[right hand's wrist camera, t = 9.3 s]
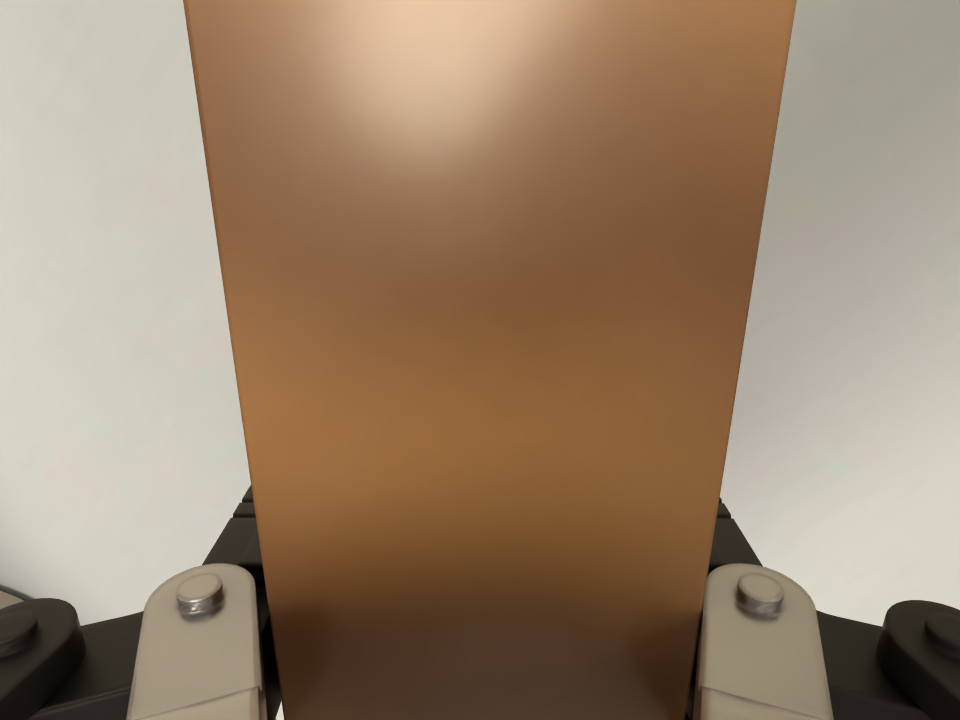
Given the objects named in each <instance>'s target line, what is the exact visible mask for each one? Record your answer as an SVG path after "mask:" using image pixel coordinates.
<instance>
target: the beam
mask: <svg viewBox="0 0 960 720" xmlns="http://www.w3.org/2000/svg"><path fill="white" fill-rule="evenodd" d="M183 2H184V9H185V16H186V23H187V30H188V37H189V45H190V52H191V59H192V66H193V73H194V80H195V87H196V94H197V102H198V109H199V116H200V123H201V130H202V137H203V144H204V151H205V158H206V166H207V173H208V180H209V187H210V194H211V201H212V208H213V215H214V223H215V230H216V237H217V244H218V251H219V258H220V265H221V272H222V279H223V287H224V294H225V301H226V308H227V315H228V322H229V329H230V336H231V344H232V351H233V358H234V365H235V372H236V379H237V386H238V393H239V400H240V408H241V415H242V422H243V429H244V436H245V443H246V450H247V457H248V465H249V472H250V479H251V486H252V493H253V500H254V507H255V514H256V521H257V529H258V536H259V543H260V550H261V557H262V564H263V571H264V578H265V586H266V593H267V600H268V607H269V614H270V621H271V628H272V635H273V642H274V650H275V657H276V664H277V671H278V678H279V685H280V692H281V699H282V707H283V714H284V720H685V717H686V710H687V704H688V697H689V691H690V684H691V678H692V671H693V665H694V659H695V652H696V646H697V639H698V633H699V626H700V620H701V613H702V607H703V600H704V594H705V587H706V581H707V575H708V568H709V562H710V555H711V549H712V542H713V536H714V529H715V523H716V516H717V510H718V503H719V497H720V491H721V484H722V478H723V471H724V465H725V458H726V452H727V445H728V439H729V432H730V426H731V419H732V413H733V407H734V400H735V394H736V387H737V381H738V374H739V368H740V361H741V355H742V348H743V342H744V335H745V329H746V323H747V316H748V310H749V303H750V297H751V290H752V284H753V277H754V271H755V264H756V258H757V251H758V245H759V239H760V232H761V226H762V219H763V213H764V206H765V200H766V193H767V187H768V180H769V174H770V167H771V161H772V155H773V148H774V142H775V135H776V129H777V122H778V116H779V109H780V103H781V96H782V90H783V83H784V77H785V71H786V64H787V58H788V51H789V45H790V38H791V32H792V25H793V19H794V12H795V6H796V0H183Z"/></svg>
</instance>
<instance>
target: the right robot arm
mask: <svg viewBox="0 0 960 720" xmlns="http://www.w3.org/2000/svg"><path fill="white" fill-rule="evenodd" d="M281 700H282V699H281V692H280V685H279V678H278V671H277V664H276V657H275V650H274V642H273V635H272V628H271V621H270V614H269V607H268V600H267V593H266V586H265V578H264V571H263V564H262V557H261V550H260V543H259V536H258V529H257V521H256V514H255V507H254V500H253V493H252V486H250V487H249V489H248V491H247V492H246V494H245V495H244V497H243V499H242V503H240V504H239V505H238V507H237V509H236V510H235V512H234V513H233V518H230V520H229V522H228V523H227V525H226V527H225V528H224V530H223V532H222V533H221V535H220V536H219V538H218V540H217V541H216V543H215V545H214V546H213V548H212V550H211V551H210V553H209V554H208V556H207V558H206V559H205V561H204V563H203V564H202V566H198V567H194V568H191V569H188V570H186V571H183V572H181V573H179V574H177V575H175V576H173V577H172V578H170V579H168V580H167V581H165V582H164V583H163V584H161V585H160V586H159V587H158V588H157V589H156V590H155V591H154V592H153V593H152V595H151V596H150V597H149V599H148V601H147V603H146V605H145V608H144V611H142V612H139V613H136V614H132V615H128V616H124V617H119V618H115V619H110V620H106V621H102V622H97V623H93V624H88V625H84V626H80V623H79V619H78V616H77V613H76V610H75V608H74V607H73V606H72V605H71V604H70V603H68V602H66V601H63V600H60V599H53V598H41V599H33V600H28V601H23V602H19V603H16V604H13V605H10V606H7V607H5V608H2V609H0V720H276V715H277V712H278V709H279V706H280V703H281ZM685 720H960V610H958V609H955V608H953V607H950V606H947V605H943V604H939V603H935V602H930V601H922V600H909V601H903V602H899V603H896V604H895V605H893V606H891V607H890V608H889V610H888V611H887V613H886V616H885V619H884V623H883V626H882V627H881V626H876V625H872V624H867V623H863V622H859V621H854V620H850V619H845V618H841V617H836V616H833V615H829V614H825V613H823V612H820V611H817V610H816V609H815V605H814V603H813V601H812V599H811V597H810V596H809V595H808V593H807V592H806V591H805V590H804V589H803V588H802V587H801V586H800V585H798V584H797V583H796V582H794V581H793V580H792V579H790V578H788V577H787V576H785V575H783V574H781V573H779V572H777V571H774V570H772V569H769V568H766V567H763V566H762V564H761V563H760V561H759V559H758V558H757V556H756V555H755V553H754V551H753V550H752V548H751V546H750V545H749V543H748V542H747V540H746V538H745V537H744V535H743V534H742V532H741V530H740V529H739V527H738V526H737V524H736V522H735V521H734V519H731V514H730V513H729V511H728V509H727V508H726V506H725V505H724V504H722V500H721V498H720V497H719V503H718V510H717V516H716V523H715V529H714V536H713V542H712V549H711V555H710V562H709V568H708V575H707V581H706V587H705V594H704V600H703V607H702V613H701V620H700V626H699V633H698V639H697V646H696V652H695V659H694V665H693V671H692V678H691V684H690V691H689V697H688V704H687V710H686V717H685Z"/></svg>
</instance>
